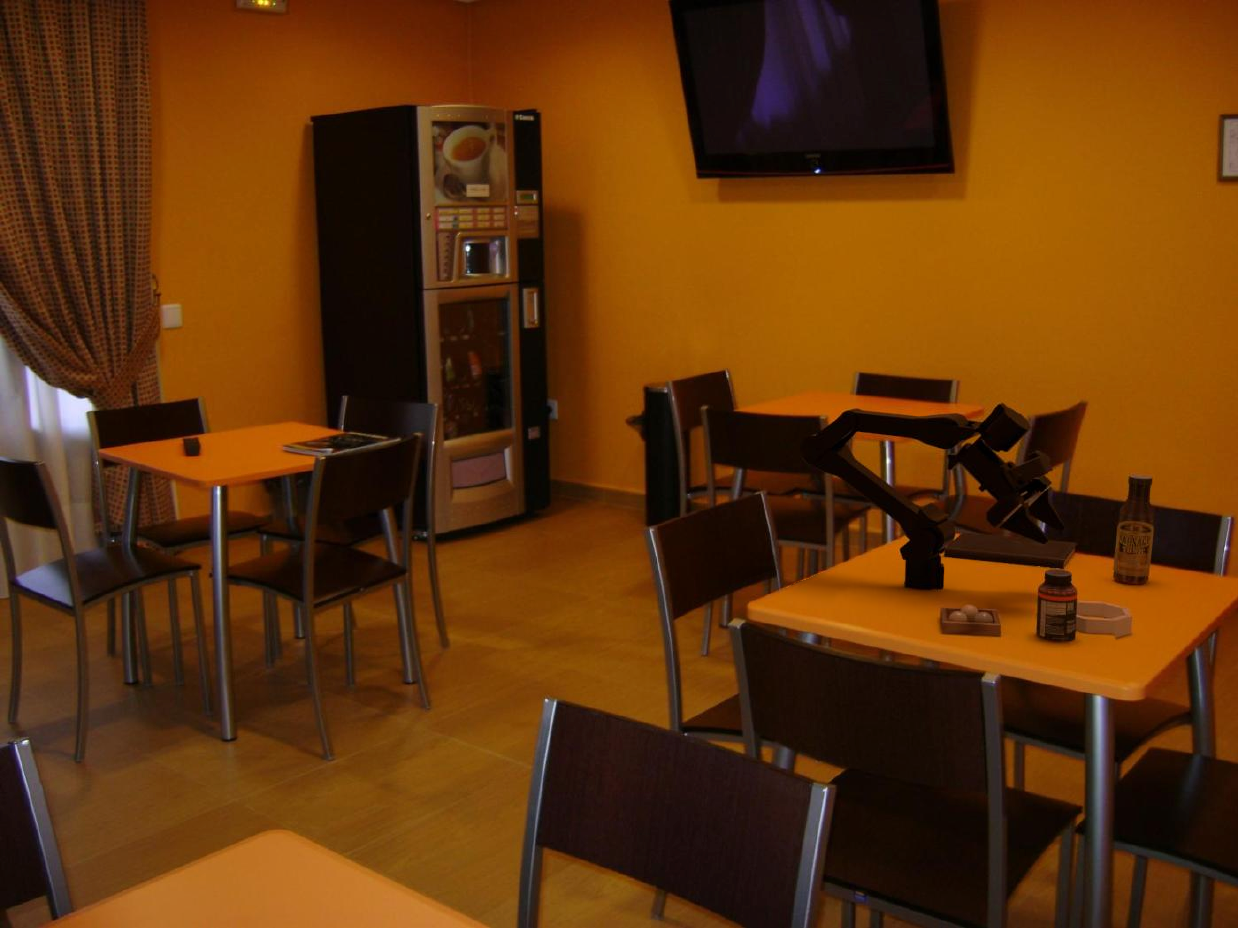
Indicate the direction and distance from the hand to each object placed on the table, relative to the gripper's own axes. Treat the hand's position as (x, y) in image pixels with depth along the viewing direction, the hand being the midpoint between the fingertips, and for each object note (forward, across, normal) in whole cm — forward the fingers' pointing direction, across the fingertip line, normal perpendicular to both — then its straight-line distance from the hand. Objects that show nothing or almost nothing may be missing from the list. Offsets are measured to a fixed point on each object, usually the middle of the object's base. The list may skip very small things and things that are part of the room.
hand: (1055, 536), depth 217 cm
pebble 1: (+1, -23, +14) cm, 27 cm away
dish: (+15, -8, +3) cm, 17 cm away
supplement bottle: (+13, -18, +5) cm, 23 cm away
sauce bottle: (+14, +25, +6) cm, 29 cm away
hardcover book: (-4, +34, +24) cm, 41 cm away
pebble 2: (+2, -18, +14) cm, 23 cm away
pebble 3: (+4, -21, +12) cm, 24 cm away
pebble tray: (+3, -20, +14) cm, 25 cm away
